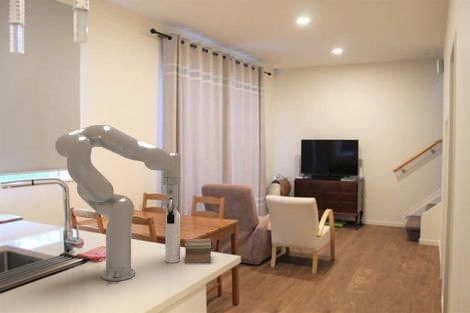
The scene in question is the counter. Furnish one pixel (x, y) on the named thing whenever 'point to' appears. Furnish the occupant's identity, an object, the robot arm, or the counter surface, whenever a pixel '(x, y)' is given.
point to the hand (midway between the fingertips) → (171, 221)
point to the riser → (198, 251)
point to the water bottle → (173, 238)
